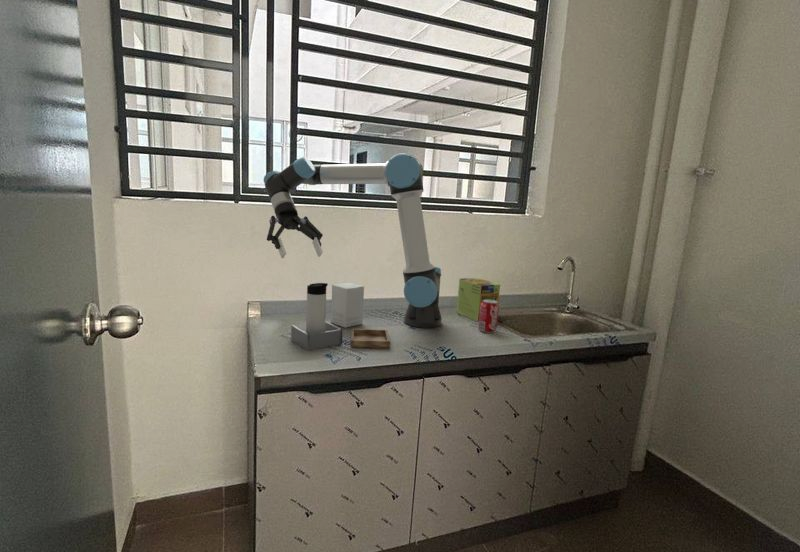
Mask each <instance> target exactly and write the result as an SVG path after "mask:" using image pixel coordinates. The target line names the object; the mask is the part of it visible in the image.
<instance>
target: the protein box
mask: <svg viewBox="0 0 800 552" xmlns="http://www.w3.org/2000/svg"><path fill="white" fill-rule="evenodd" d="M458 281H459V282H458V289H457V290H458V292H457V304H456V313H457V314H459V315H462V316H464V317H465V318H469V319H471V320H473V321H474V322H475V321H476V323H477V322H478V323H479V314H480V305H481V303H482V302H483V300H484V299H492V300H496V301H498V302H500V301H499V300H500V299H499V298H500V292H501V291H500V290H501V284H499V283H496V282H492V281H489V280H486V279H483V278H479V277H475V278H474V277H473V278H470V277H469V278H468V277H467V278H459V280H458Z"/></svg>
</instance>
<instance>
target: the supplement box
mask: <svg viewBox="0 0 800 552" xmlns="http://www.w3.org/2000/svg"><path fill="white" fill-rule="evenodd" d="M364 296H365V286H364V285H360V284H355V283H352V282H343V283H335V284H331V310H330V311H331V314H330V323H331V324H333V325H336V326H340V327H343V328H349V327H354V326H355V327H356V326H358V325H363V324H364V323H363V319H364V301H365V300H364Z"/></svg>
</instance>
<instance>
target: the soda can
mask: <svg viewBox="0 0 800 552" xmlns="http://www.w3.org/2000/svg"><path fill="white" fill-rule="evenodd" d="M499 307H500V306H499V301H496V300H492V299H484V300H483V302H482V303H481V305H480V314H479V322H478V330H479V331H481V332H482V333H486V334H492V333H495V332H496V331H497V328H498V320H499V312H500V311H499Z"/></svg>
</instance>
